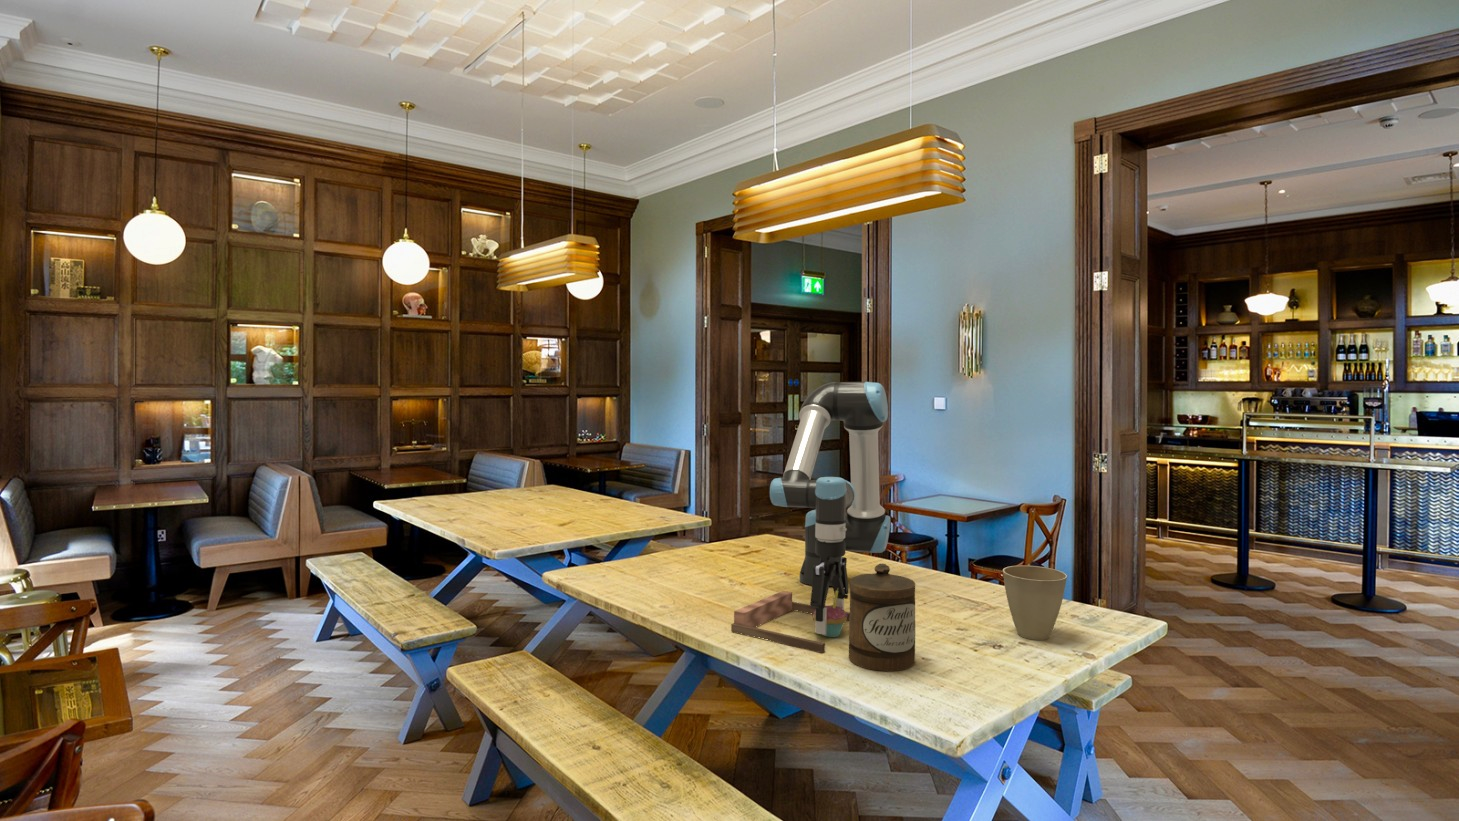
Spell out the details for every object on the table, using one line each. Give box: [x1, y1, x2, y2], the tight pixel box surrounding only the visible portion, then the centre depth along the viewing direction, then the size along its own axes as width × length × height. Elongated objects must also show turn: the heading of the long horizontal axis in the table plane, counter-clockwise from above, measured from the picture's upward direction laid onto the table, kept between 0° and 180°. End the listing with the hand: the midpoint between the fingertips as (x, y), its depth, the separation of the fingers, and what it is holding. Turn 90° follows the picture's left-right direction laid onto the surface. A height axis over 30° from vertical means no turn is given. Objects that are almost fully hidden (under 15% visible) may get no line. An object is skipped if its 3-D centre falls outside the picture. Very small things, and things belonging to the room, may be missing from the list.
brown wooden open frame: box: [730, 590, 850, 654], centre depth 194 cm, size 26×26×5 cm
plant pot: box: [1002, 565, 1068, 641], centre depth 189 cm, size 15×15×16 cm
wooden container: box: [848, 563, 916, 672], centre depth 171 cm, size 15×15×22 cm
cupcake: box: [812, 588, 848, 638], centre depth 189 cm, size 9×8×12 cm
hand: (829, 628), depth 190 cm, fingers open, 9 cm apart
